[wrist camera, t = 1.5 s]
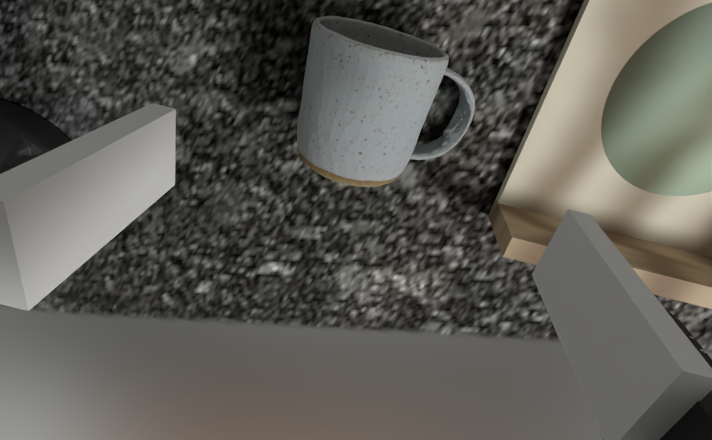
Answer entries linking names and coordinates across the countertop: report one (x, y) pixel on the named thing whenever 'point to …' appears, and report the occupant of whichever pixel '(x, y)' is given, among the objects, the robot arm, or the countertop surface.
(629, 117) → the tray
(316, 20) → the ceramic mug
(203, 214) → the countertop surface
